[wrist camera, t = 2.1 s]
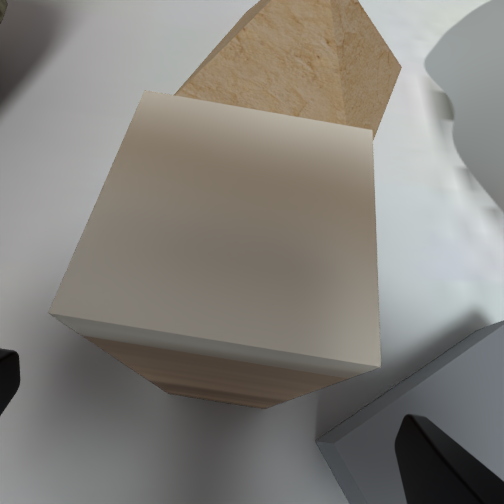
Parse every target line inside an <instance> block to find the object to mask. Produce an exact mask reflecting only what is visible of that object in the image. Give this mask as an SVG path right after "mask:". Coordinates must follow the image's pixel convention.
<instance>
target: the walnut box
mask: <svg viewBox="0 0 504 504" xmlns="http://www.w3.org/2000/svg"><path fill="white" fill-rule="evenodd" d="M48 313H49V314H50V315H52V316H53V317H55V318H56V319H58V320H59V321H61V322H62V323H64V324H65V325H67V326H68V327H70V328H71V329H73V330H74V331H76V332H77V333H79V334H80V335H82V336H83V337H85V338H86V339H88V340H89V341H91V342H92V343H93V344H95V345H96V346H98V347H99V348H101V349H102V350H104V351H105V352H107V353H108V354H110V355H111V356H113V357H114V358H116V359H117V360H119V361H120V362H122V363H123V364H125V365H126V366H128V367H129V368H131V369H132V370H134V371H135V372H137V373H138V374H140V375H141V376H143V377H144V378H146V379H147V380H149V381H150V382H152V383H153V384H155V385H156V386H158V387H159V388H161V389H162V390H164V391H165V392H167V393H168V394H173V395H180V396H186V397H192V398H199V399H205V400H211V401H217V402H224V403H230V404H236V405H243V406H249V407H255V408H261V409H266V408H269V407H271V406H274V405H277V404H280V403H283V402H285V401H288V400H291V399H294V398H296V397H299V396H302V395H305V394H308V393H310V392H313V391H316V390H319V389H321V388H324V387H327V386H330V385H333V384H335V383H338V382H341V381H344V380H347V379H349V378H352V377H355V376H358V375H360V374H363V373H366V372H369V371H372V370H374V369H377V368H380V367H381V350H380V322H379V295H378V268H377V241H376V214H375V187H374V159H373V132H372V130H369V129H363V128H358V127H352V126H346V125H341V124H335V123H329V122H323V121H318V120H312V119H306V118H301V117H295V116H289V115H283V114H278V113H272V112H266V111H261V110H255V109H249V108H243V107H238V106H232V105H226V104H221V103H215V102H209V101H203V100H198V99H192V98H186V97H181V96H175V95H169V94H163V93H158V92H152V91H146V90H145V91H144V93H143V95H142V98H141V100H140V102H139V105H138V107H137V109H136V112H135V114H134V116H133V118H132V121H131V123H130V125H129V128H128V130H127V132H126V135H125V137H124V139H123V141H122V144H121V146H120V148H119V151H118V153H117V155H116V158H115V160H114V162H113V165H112V167H111V169H110V171H109V174H108V176H107V178H106V181H105V183H104V185H103V188H102V190H101V192H100V194H99V197H98V199H97V201H96V204H95V206H94V208H93V211H92V213H91V215H90V218H89V220H88V222H87V224H86V227H85V229H84V231H83V234H82V236H81V238H80V241H79V243H78V245H77V247H76V250H75V252H74V254H73V257H72V259H71V261H70V264H69V266H68V268H67V271H66V273H65V275H64V277H63V280H62V282H61V284H60V287H59V289H58V291H57V294H56V296H55V298H54V300H53V303H52V305H51V307H50V310H49V312H48Z"/></svg>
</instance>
